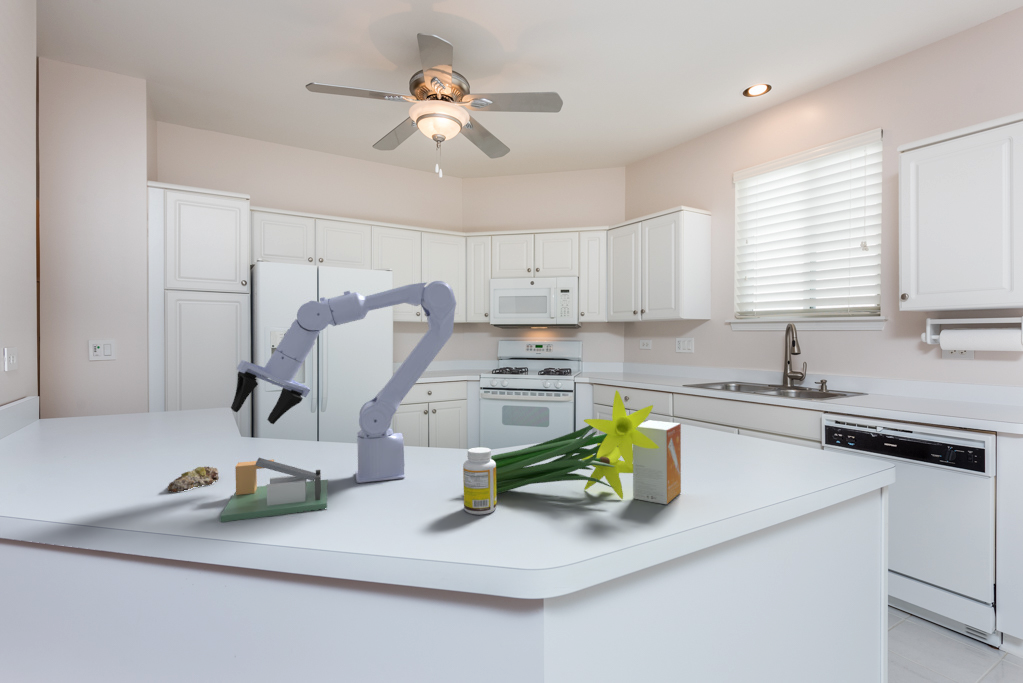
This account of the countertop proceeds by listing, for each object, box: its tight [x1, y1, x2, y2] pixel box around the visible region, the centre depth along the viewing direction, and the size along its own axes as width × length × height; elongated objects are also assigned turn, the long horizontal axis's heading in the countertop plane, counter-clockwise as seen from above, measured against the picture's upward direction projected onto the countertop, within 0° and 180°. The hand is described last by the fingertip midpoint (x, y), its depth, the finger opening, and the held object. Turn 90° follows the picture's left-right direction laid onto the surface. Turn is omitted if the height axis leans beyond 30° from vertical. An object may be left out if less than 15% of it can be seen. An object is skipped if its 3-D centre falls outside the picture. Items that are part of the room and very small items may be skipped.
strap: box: [255, 457, 320, 481], centre depth 88 cm, size 11×3×1 cm, turn 110°
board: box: [219, 469, 329, 523], centre depth 90 cm, size 16×15×5 cm
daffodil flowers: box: [491, 389, 659, 500], centre depth 91 cm, size 17×15×35 cm
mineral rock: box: [167, 466, 220, 493], centre depth 100 cm, size 11×4×8 cm
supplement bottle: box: [462, 446, 498, 516], centre depth 84 cm, size 6×6×10 cm
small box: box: [632, 419, 682, 505], centre depth 90 cm, size 8×6×13 cm
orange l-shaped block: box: [235, 459, 275, 495], centre depth 92 cm, size 6×3×5 cm, turn 110°
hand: (252, 416), depth 98 cm, fingers open, 7 cm apart
